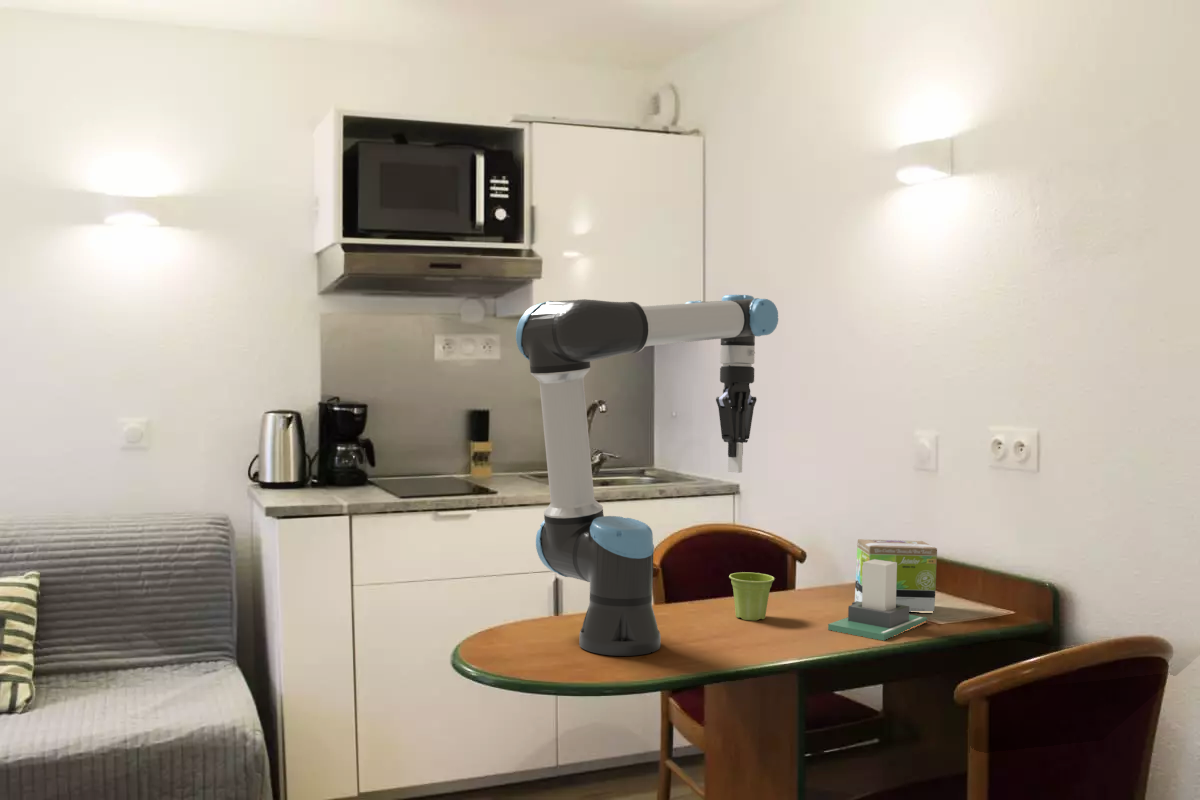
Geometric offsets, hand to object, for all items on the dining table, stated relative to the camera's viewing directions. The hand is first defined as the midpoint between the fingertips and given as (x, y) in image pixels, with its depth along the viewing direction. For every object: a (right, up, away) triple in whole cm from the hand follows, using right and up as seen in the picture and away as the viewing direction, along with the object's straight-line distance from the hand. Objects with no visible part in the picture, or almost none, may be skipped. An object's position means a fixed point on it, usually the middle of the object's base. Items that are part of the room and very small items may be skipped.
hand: (735, 471), depth 232 cm
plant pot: (+2, -30, -12) cm, 32 cm away
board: (+27, -30, -18) cm, 44 cm away
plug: (+27, -29, -18) cm, 44 cm away
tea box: (+35, -30, -1) cm, 46 cm away
